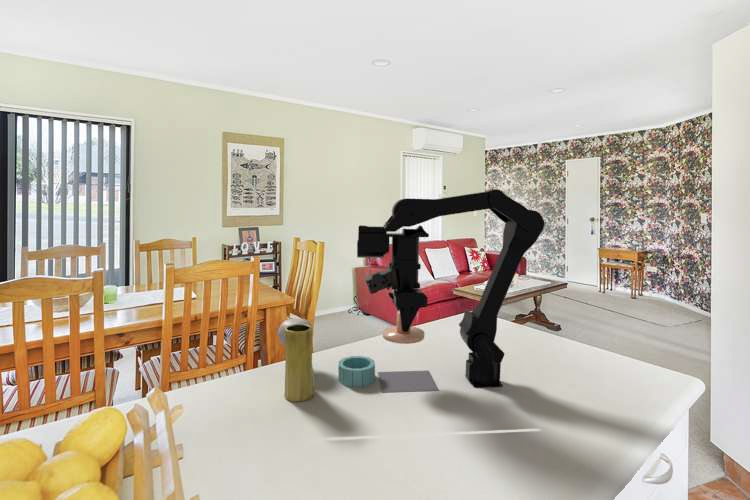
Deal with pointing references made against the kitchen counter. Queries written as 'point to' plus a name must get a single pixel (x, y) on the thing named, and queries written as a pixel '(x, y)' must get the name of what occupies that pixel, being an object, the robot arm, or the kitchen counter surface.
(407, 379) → the mat
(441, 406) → the kitchen counter surface
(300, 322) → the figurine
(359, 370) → the bowl
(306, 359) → the vase
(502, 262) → the robot arm
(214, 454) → the kitchen counter surface
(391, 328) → the lid
